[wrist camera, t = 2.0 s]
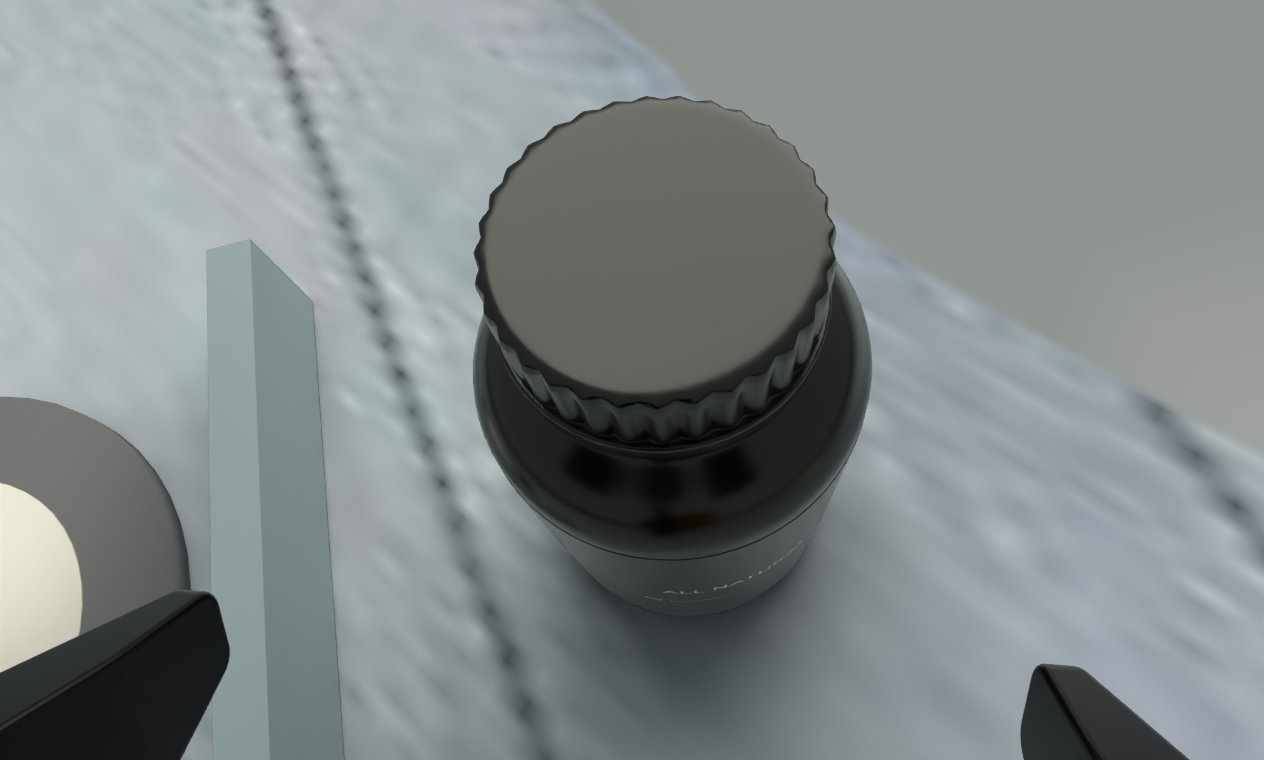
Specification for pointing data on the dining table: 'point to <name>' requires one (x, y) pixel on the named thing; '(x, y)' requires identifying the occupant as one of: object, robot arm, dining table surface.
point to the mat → (77, 528)
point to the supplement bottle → (669, 349)
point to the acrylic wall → (268, 516)
